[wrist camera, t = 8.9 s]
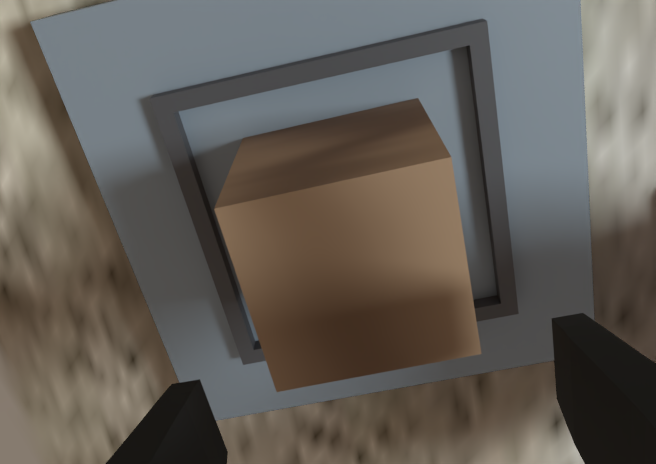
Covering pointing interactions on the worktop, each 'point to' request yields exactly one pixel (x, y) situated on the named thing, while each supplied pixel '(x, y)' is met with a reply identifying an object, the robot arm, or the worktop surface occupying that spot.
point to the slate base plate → (318, 104)
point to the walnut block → (350, 246)
